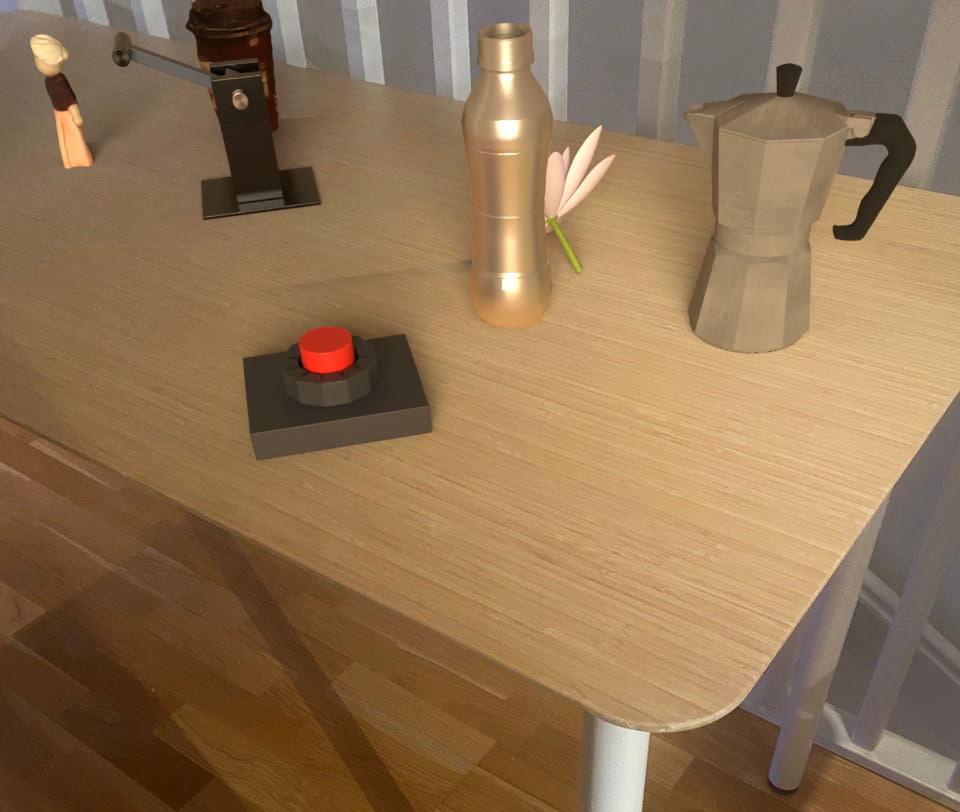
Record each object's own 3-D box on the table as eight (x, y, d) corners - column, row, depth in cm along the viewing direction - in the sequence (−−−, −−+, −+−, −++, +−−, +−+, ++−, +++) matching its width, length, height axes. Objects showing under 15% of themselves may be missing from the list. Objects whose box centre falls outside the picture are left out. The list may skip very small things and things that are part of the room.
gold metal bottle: (541, 292, 81) (542, 11, 66) (560, 333, 76) (565, 40, 62) (464, 302, 80) (447, 21, 66) (478, 343, 75) (464, 51, 61)
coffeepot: (646, 339, 75) (669, 78, 62) (679, 284, 81) (706, 35, 68) (855, 375, 70) (927, 101, 57) (874, 313, 76) (943, 52, 63)
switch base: (256, 461, 66) (243, 410, 63) (248, 384, 73) (236, 334, 70) (431, 433, 67) (427, 382, 65) (408, 359, 74) (402, 310, 71)
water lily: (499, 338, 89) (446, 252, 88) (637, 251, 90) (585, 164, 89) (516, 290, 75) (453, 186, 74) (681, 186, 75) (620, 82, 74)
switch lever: (110, 69, 83) (114, 39, 82) (112, 52, 86) (116, 23, 85) (253, 119, 88) (259, 91, 87) (250, 100, 91) (256, 73, 90)
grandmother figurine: (51, 167, 105) (5, 31, 95) (84, 156, 106) (42, 22, 97) (85, 186, 100) (40, 47, 91) (119, 175, 102) (78, 37, 93)
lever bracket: (205, 229, 92) (171, 91, 83) (203, 192, 98) (171, 60, 90) (322, 214, 93) (300, 76, 85) (313, 178, 99) (292, 47, 91)
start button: (305, 380, 66) (300, 356, 65) (300, 353, 69) (296, 330, 67) (358, 372, 66) (354, 348, 65) (351, 345, 69) (348, 322, 68)
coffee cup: (221, 158, 104) (190, 18, 95) (203, 133, 110) (172, -2, 100) (300, 142, 106) (277, 3, 97) (279, 119, 112) (255, -15, 102)
